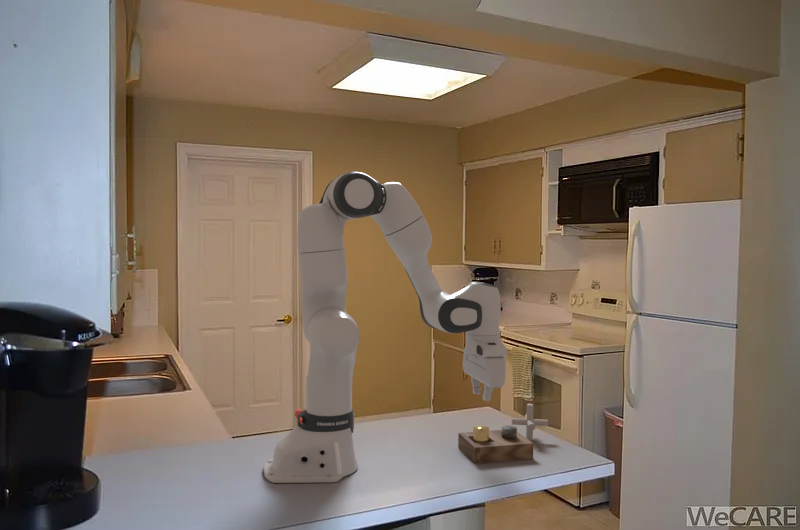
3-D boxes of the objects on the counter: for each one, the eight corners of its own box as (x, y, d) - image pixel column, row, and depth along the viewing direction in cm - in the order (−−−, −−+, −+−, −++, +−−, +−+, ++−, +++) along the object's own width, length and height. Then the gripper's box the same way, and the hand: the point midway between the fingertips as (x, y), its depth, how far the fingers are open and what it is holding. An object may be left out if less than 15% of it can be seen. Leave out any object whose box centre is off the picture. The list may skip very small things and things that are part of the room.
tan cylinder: (476, 457, 155) (476, 430, 155) (470, 452, 159) (471, 425, 159) (490, 456, 156) (491, 429, 156) (484, 451, 160) (485, 424, 160)
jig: (474, 463, 151) (475, 438, 151) (458, 447, 162) (458, 424, 162) (533, 458, 155) (533, 434, 155) (512, 443, 166) (513, 420, 166)
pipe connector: (544, 434, 174) (545, 400, 174) (550, 446, 164) (550, 410, 164) (509, 433, 175) (510, 399, 175) (512, 444, 165) (513, 408, 165)
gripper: (457, 338, 166) (456, 388, 166) (486, 351, 146) (485, 408, 147) (478, 337, 167) (477, 387, 168) (510, 351, 148) (509, 406, 148)
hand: (481, 397), depth 157 cm, fingers open, 5 cm apart
